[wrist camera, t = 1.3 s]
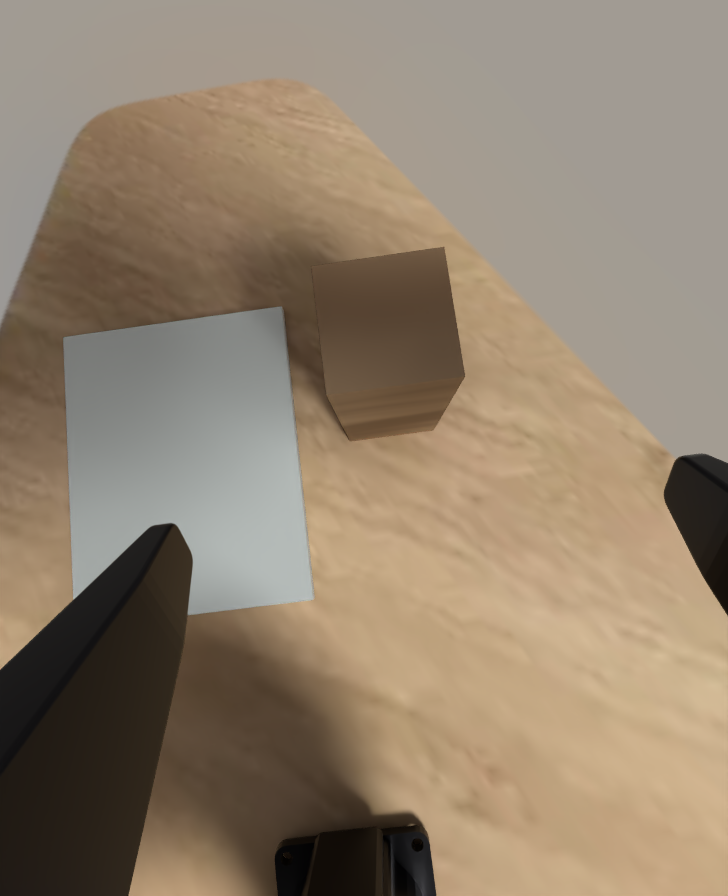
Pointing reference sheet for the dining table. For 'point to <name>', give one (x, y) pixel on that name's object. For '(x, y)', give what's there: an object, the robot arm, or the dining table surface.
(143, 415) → the mat
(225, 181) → the dining table surface
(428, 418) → the walnut block
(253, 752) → the dining table surface
